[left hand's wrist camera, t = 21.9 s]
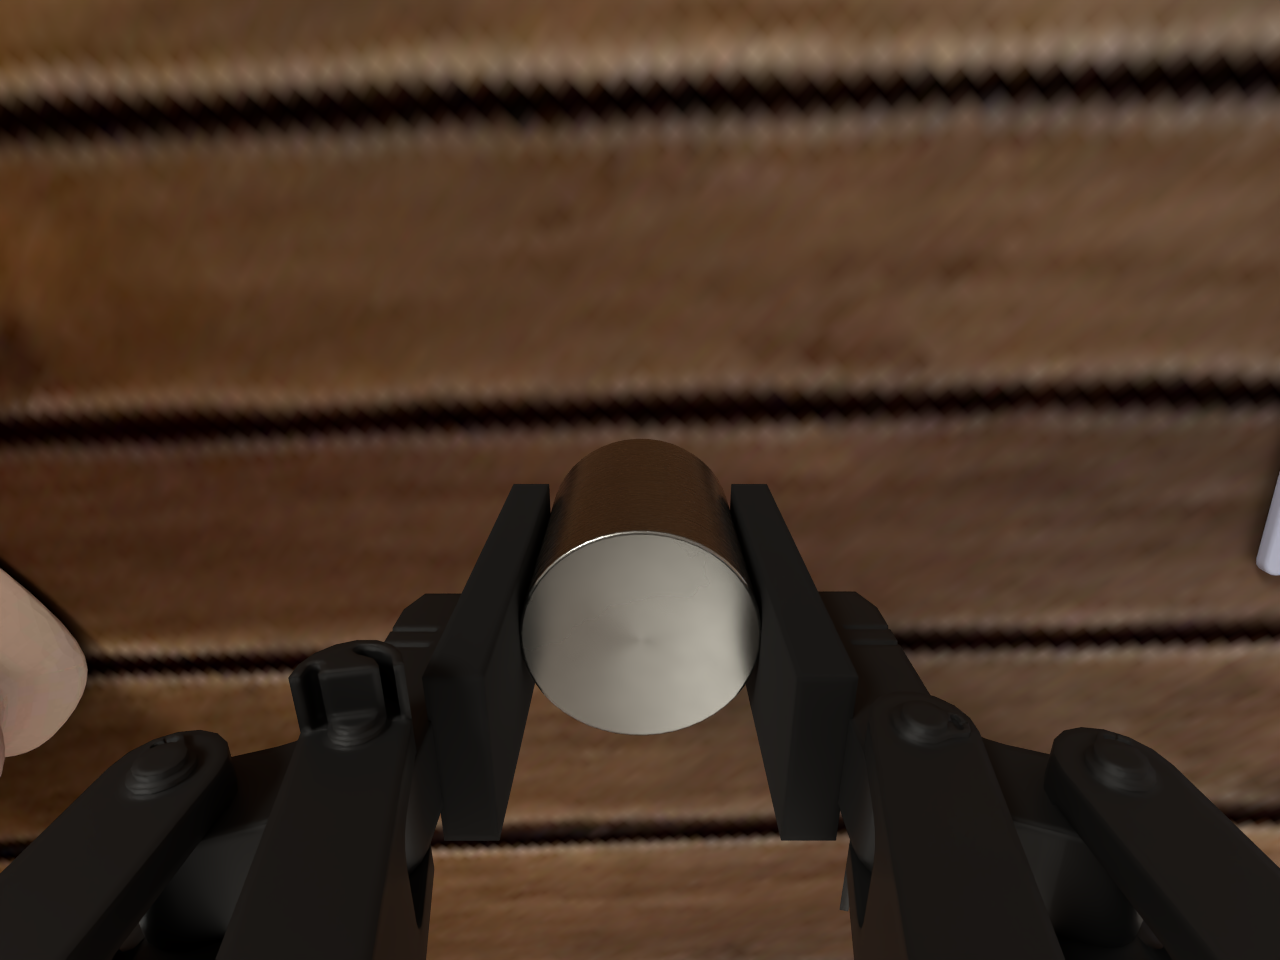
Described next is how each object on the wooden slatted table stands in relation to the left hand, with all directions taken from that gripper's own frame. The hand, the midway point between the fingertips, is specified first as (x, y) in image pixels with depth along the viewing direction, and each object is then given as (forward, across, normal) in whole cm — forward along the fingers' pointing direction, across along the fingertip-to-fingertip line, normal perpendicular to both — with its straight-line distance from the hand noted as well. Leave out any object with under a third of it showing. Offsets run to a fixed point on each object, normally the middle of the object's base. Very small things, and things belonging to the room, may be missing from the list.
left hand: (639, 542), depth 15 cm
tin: (0, 0, 0) cm, 1 cm away
